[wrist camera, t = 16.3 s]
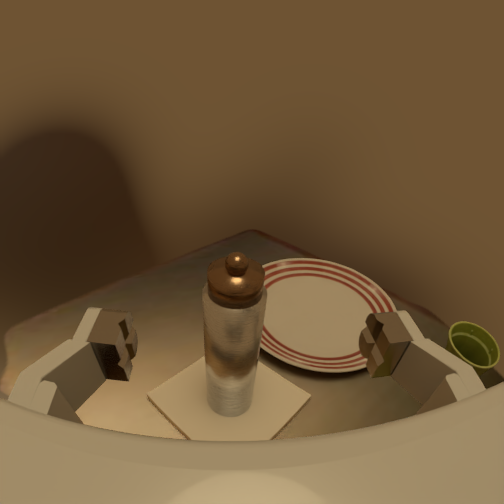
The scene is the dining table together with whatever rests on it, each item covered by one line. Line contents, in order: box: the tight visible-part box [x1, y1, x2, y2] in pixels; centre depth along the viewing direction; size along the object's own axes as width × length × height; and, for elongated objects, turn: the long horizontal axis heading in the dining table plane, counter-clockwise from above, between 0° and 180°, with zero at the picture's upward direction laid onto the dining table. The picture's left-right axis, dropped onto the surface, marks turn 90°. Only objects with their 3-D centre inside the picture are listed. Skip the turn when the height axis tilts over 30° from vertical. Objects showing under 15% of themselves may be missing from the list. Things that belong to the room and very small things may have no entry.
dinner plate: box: [260, 258, 397, 373], centre depth 47 cm, size 28×27×3 cm
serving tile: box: [147, 356, 311, 441], centre depth 32 cm, size 14×14×1 cm
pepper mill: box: [203, 252, 267, 417], centre depth 27 cm, size 5×5×20 cm
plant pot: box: [445, 322, 500, 377], centre depth 32 cm, size 9×9×9 cm
